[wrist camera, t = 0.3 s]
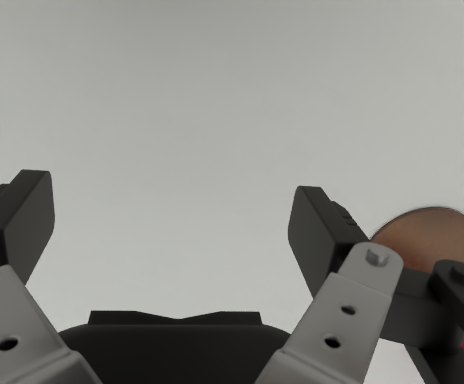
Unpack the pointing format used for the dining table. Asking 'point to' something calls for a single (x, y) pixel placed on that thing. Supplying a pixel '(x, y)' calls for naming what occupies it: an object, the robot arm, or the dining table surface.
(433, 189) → the dining table surface
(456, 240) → the cork coaster
